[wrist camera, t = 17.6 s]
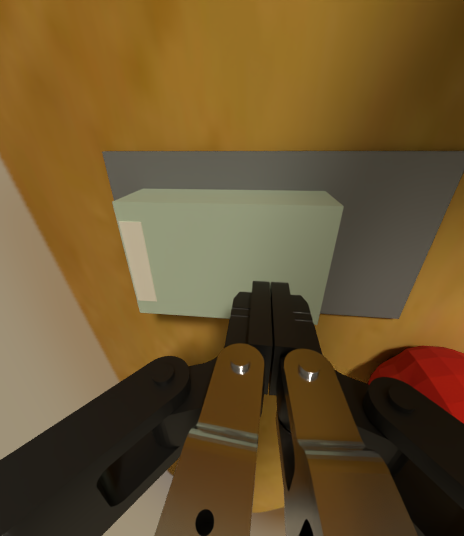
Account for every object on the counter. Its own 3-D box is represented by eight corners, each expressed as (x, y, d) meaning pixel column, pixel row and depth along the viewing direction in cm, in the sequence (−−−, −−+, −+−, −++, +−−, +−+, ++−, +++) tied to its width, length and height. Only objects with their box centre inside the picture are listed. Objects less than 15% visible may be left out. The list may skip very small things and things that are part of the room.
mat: (106, 151, 14) (102, 151, 14) (466, 150, 12) (472, 151, 12) (141, 298, 20) (139, 300, 19) (395, 315, 17) (398, 318, 17)
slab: (325, 190, 14) (143, 188, 15) (344, 206, 10) (111, 202, 12) (307, 290, 17) (160, 282, 18) (317, 325, 14) (139, 312, 15)
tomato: (370, 417, 24) (419, 547, 16) (328, 349, 20) (367, 477, 12) (497, 393, 20) (637, 545, 13) (475, 302, 16) (659, 444, 9)
